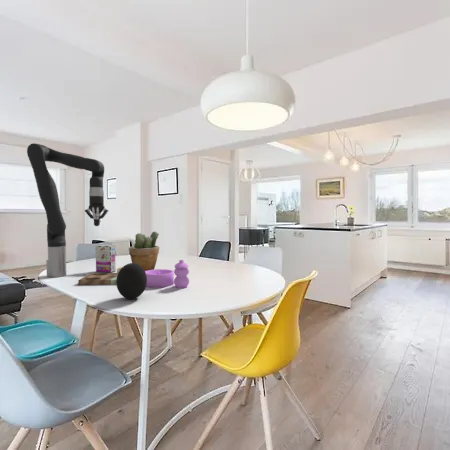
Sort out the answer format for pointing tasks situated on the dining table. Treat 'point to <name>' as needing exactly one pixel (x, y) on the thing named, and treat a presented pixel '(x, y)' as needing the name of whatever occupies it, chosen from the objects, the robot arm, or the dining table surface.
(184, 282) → the container set
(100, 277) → the board
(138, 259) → the potted plant
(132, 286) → the decorative egg
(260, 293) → the dining table surface
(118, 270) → the block
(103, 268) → the candy bar box
